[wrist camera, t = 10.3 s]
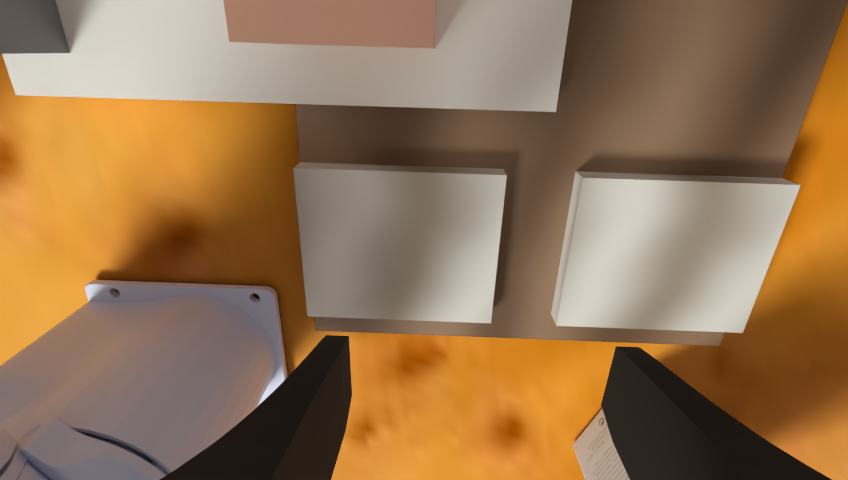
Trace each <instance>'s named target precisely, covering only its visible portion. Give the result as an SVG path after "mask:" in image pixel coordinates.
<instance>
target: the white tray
mask: <svg viewBox="0 0 848 480" xmlns="http://www.w3.org/2000/svg"><path fill="white" fill-rule="evenodd" d="M571 5H572V0H437V2H436V32H435V49H432V48H398V47H364V46H330V45H297V44H271V43H246V42H229V37H228V30H227V23H226V16H225V8H224V1H223V0H0V54H2V55H3V58H4V61H5V64H6V67H7V70H8V73H9V76H10V79H11V82H12V85H13V88H14V91H15V94H16V95H29V96H61V97H92V98H124V99H156V100H188V101H220V102H251V103H283V104H315V105H347V106H379V107H410V108H442V109H474V110H506V111H537V112H556V108H557V102H558V95H559V88H560V81H561V74H562V67H563V60H564V53H565V46H566V40H567V33H568V26H569V19H570V12H571Z"/></svg>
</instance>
